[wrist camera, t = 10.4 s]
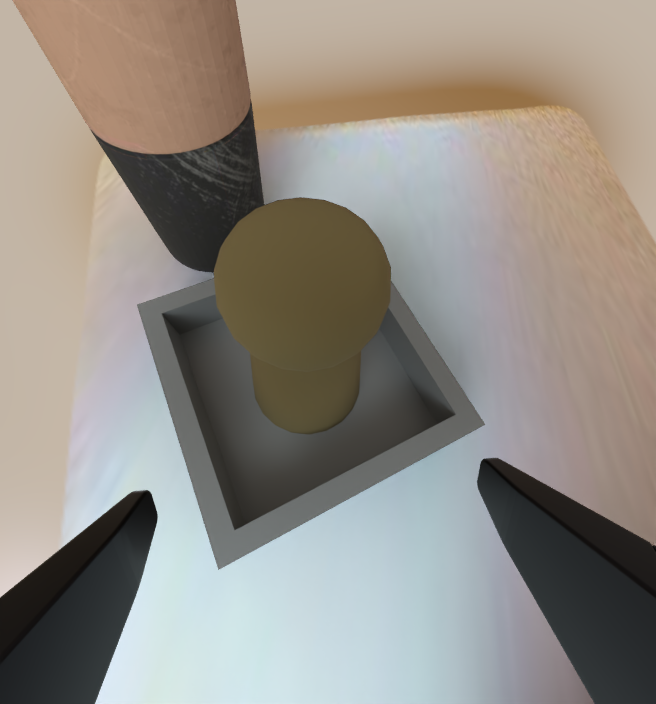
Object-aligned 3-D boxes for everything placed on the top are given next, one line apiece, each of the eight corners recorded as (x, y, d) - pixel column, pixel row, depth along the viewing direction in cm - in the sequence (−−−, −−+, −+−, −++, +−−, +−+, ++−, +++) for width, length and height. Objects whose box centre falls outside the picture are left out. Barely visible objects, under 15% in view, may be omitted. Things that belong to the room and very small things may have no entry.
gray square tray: (454, 435, 19) (485, 424, 15) (237, 553, 16) (218, 569, 13) (350, 265, 23) (357, 228, 20) (164, 334, 20) (137, 305, 17)
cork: (377, 410, 18) (465, 307, 8) (272, 452, 17) (214, 395, 7) (336, 319, 20) (363, 144, 10) (240, 351, 19) (158, 190, 9)
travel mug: (257, 185, 25) (120, -616, 7) (282, 262, 23) (162, -720, 4) (156, 203, 24) (-339, -716, 6) (169, 287, 21) (-696, -952, 3)
